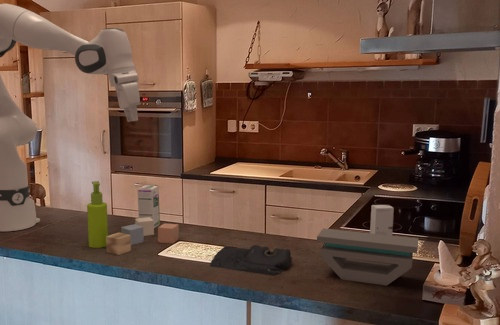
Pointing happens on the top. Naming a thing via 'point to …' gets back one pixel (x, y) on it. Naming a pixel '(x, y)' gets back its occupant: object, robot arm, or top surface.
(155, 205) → the syrup box
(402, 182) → the top surface
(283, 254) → the crumpled black cloth
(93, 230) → the soap dispenser
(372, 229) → the skincare box
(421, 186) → the top surface
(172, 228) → the terracotta cube
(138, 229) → the slate-blue cube
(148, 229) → the cream cube
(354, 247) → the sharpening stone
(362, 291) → the top surface
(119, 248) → the oak cube
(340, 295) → the top surface
